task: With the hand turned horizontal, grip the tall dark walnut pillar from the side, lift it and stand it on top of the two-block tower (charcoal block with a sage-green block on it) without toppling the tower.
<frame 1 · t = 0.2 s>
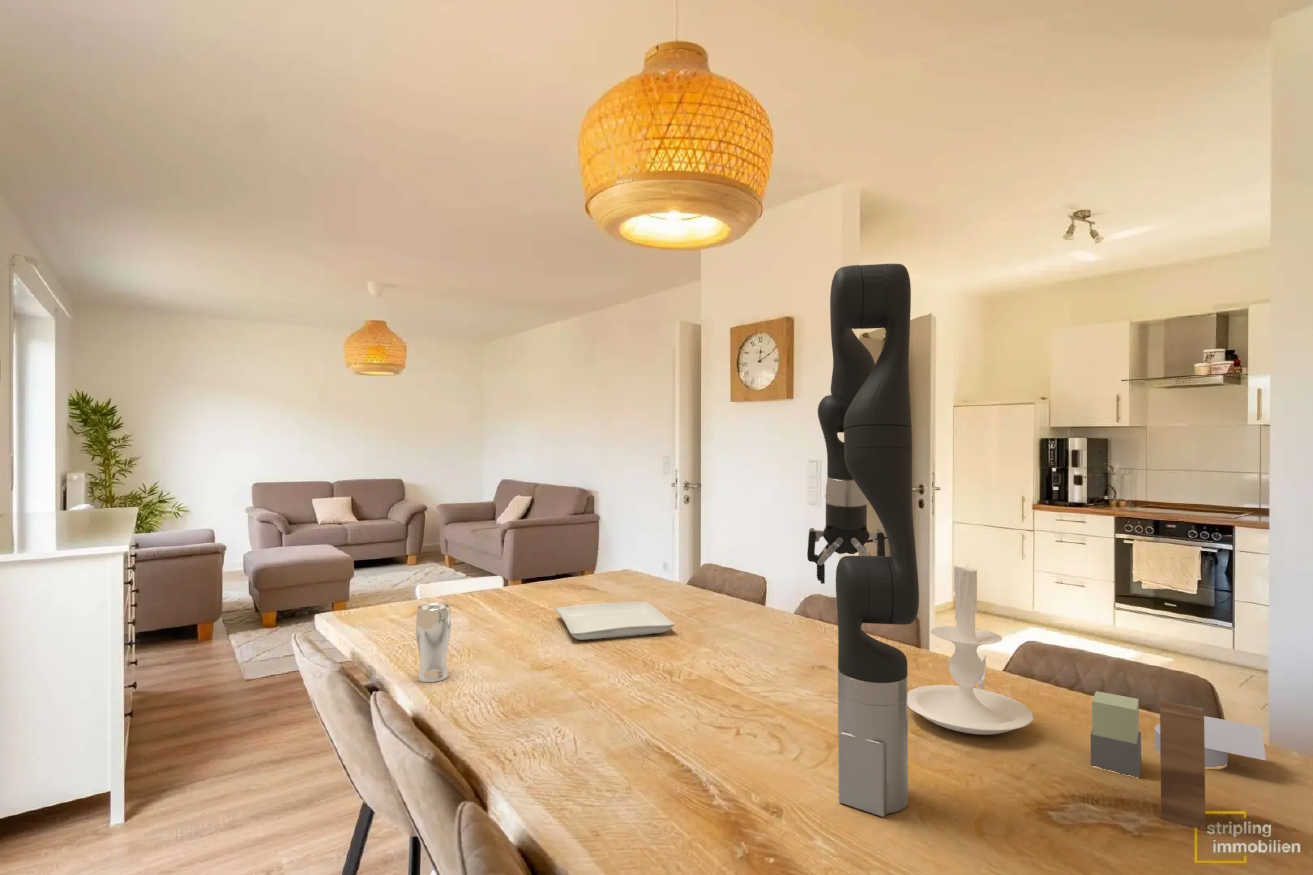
hand: (845, 583, 129), 22 cm above the table, tool pointing down, fingers open, 8 cm apart
tower base: (1116, 765, 103), on the table, touching tower top
beer glass: (433, 678, 142), on the table
tower top: (1115, 732, 103), point 5 cm above the table, touching tower base
walnut pillar: (1182, 816, 89), on the table
candlestick: (969, 720, 121), on the table
wedge on round base: (1206, 761, 105), on the table
square plate: (612, 628, 183), on the table
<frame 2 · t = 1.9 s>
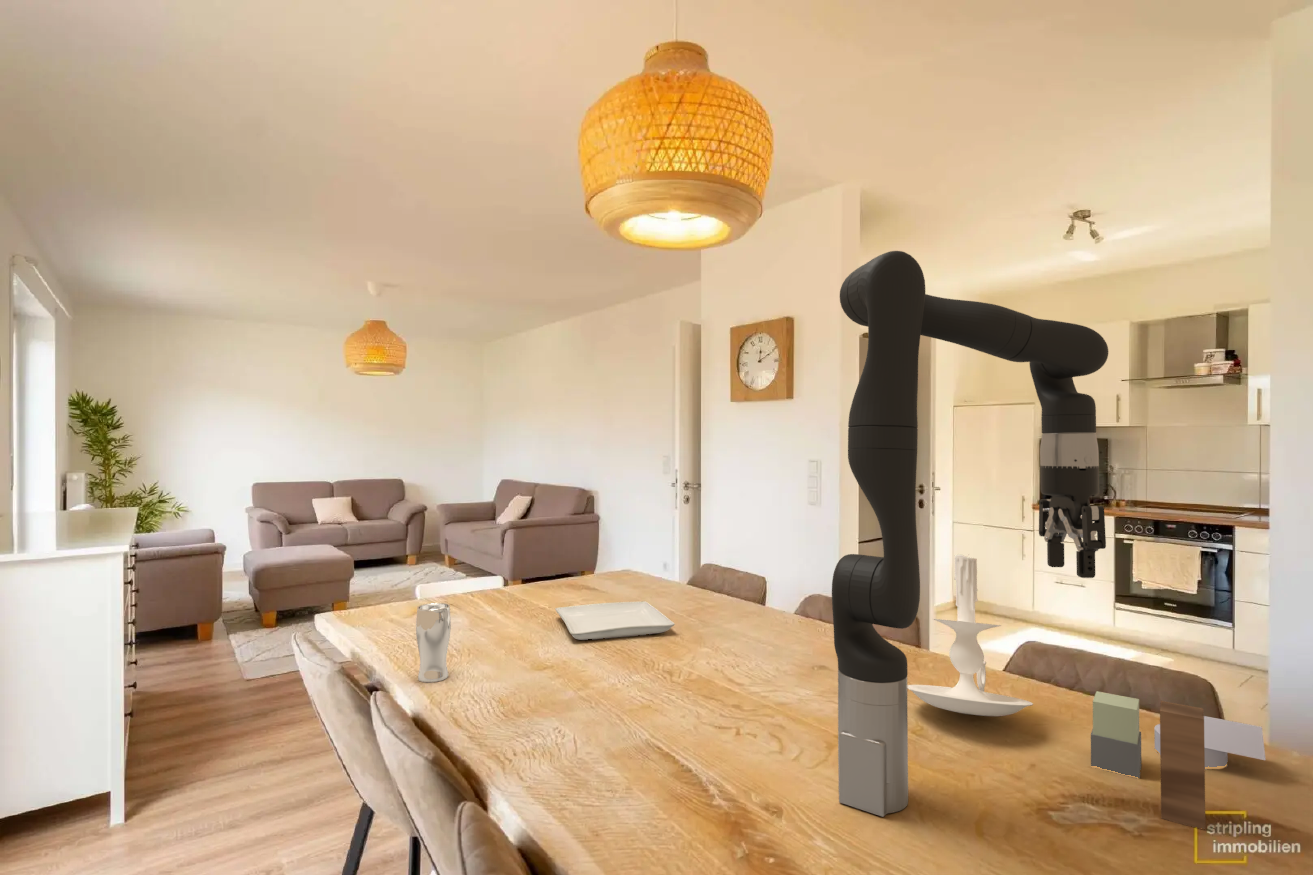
hand: (1070, 571, 101), 30 cm above the table, tool pointing down, fingers open, 8 cm apart
candlestick: (969, 713, 121), point 1 cm above the table
everything else where it was.
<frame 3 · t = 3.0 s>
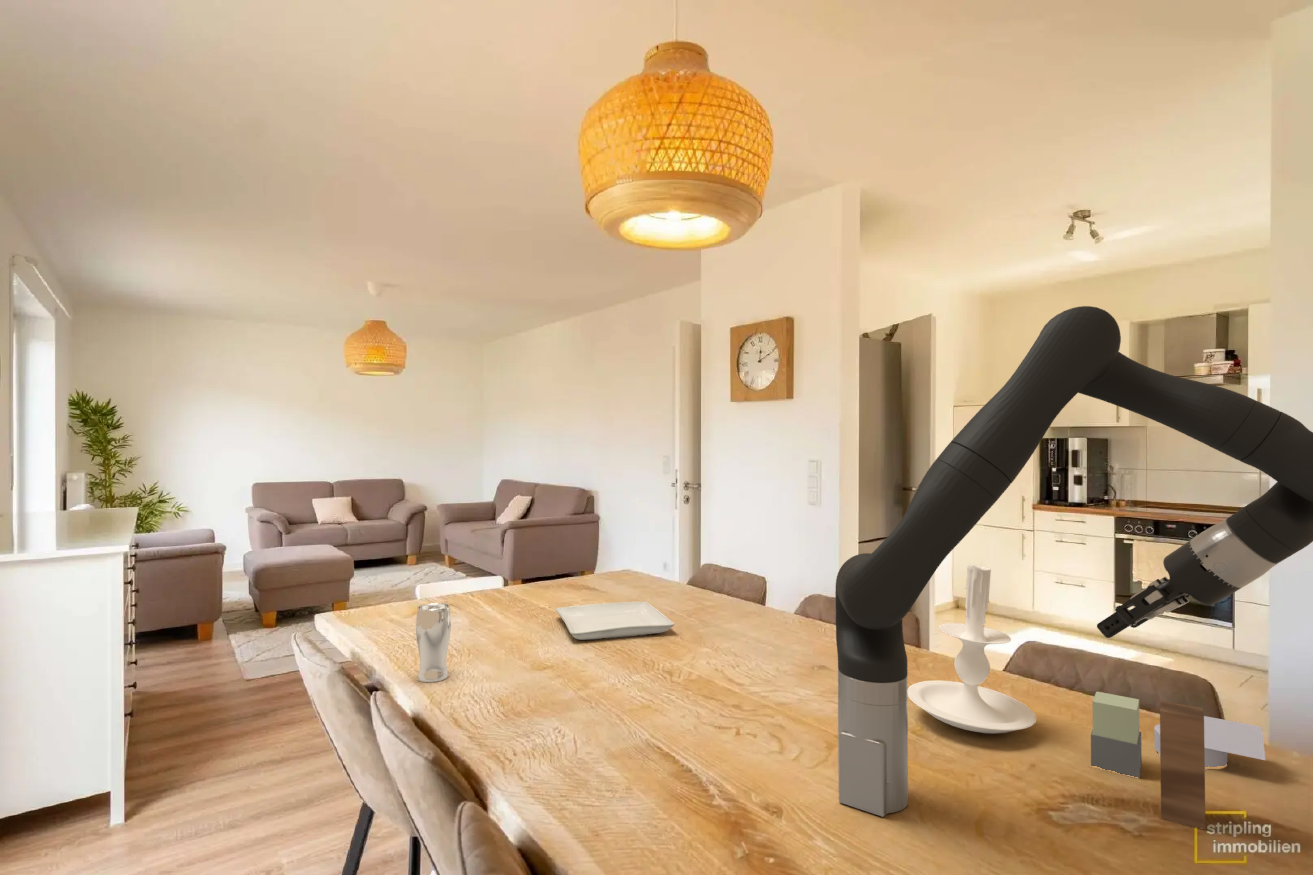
hand: (1115, 626, 97), 23 cm above the table, tool tilted 45°, fingers open, 8 cm apart
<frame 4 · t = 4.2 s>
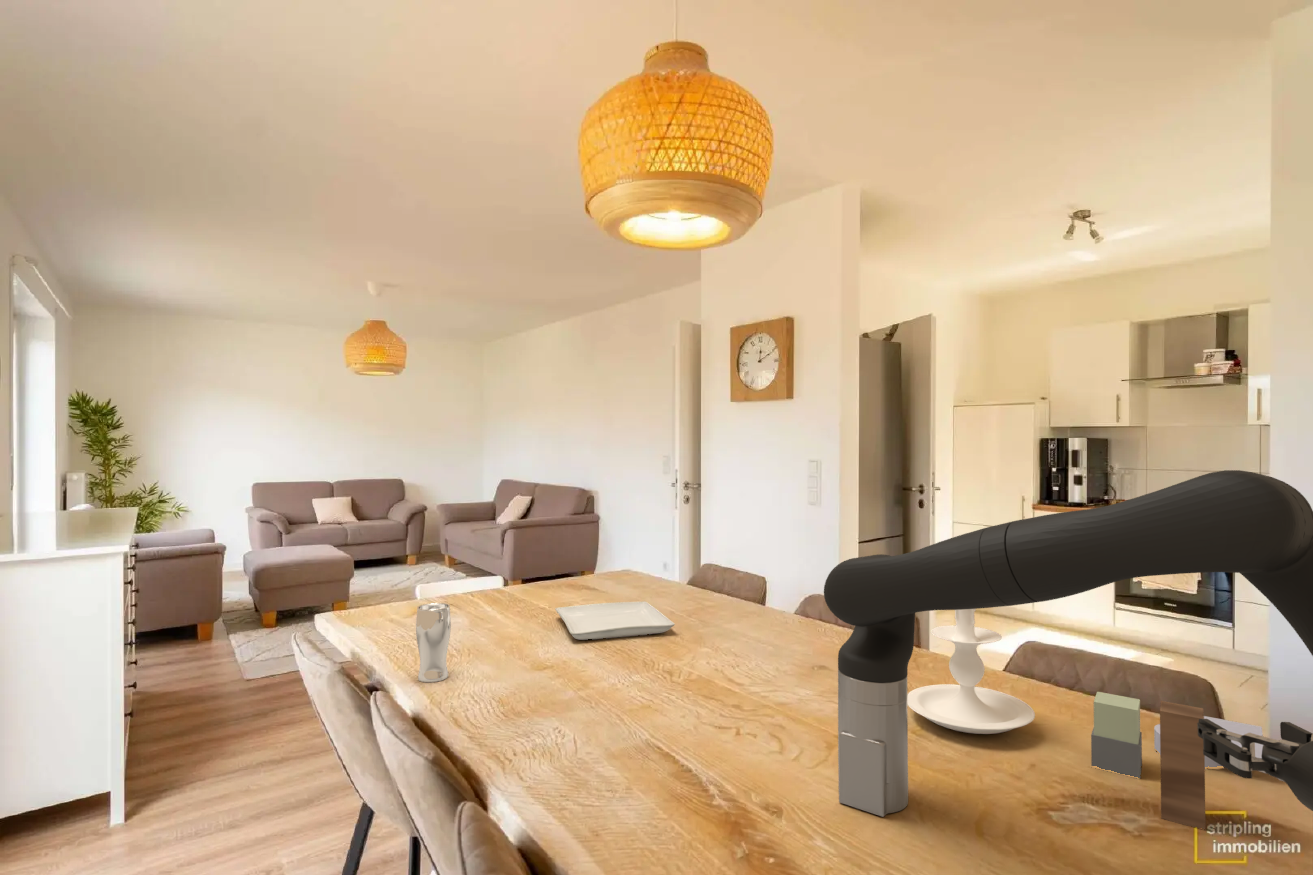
hand: (1242, 728, 78), 16 cm above the table, tool horizontal, fingers open, 8 cm apart
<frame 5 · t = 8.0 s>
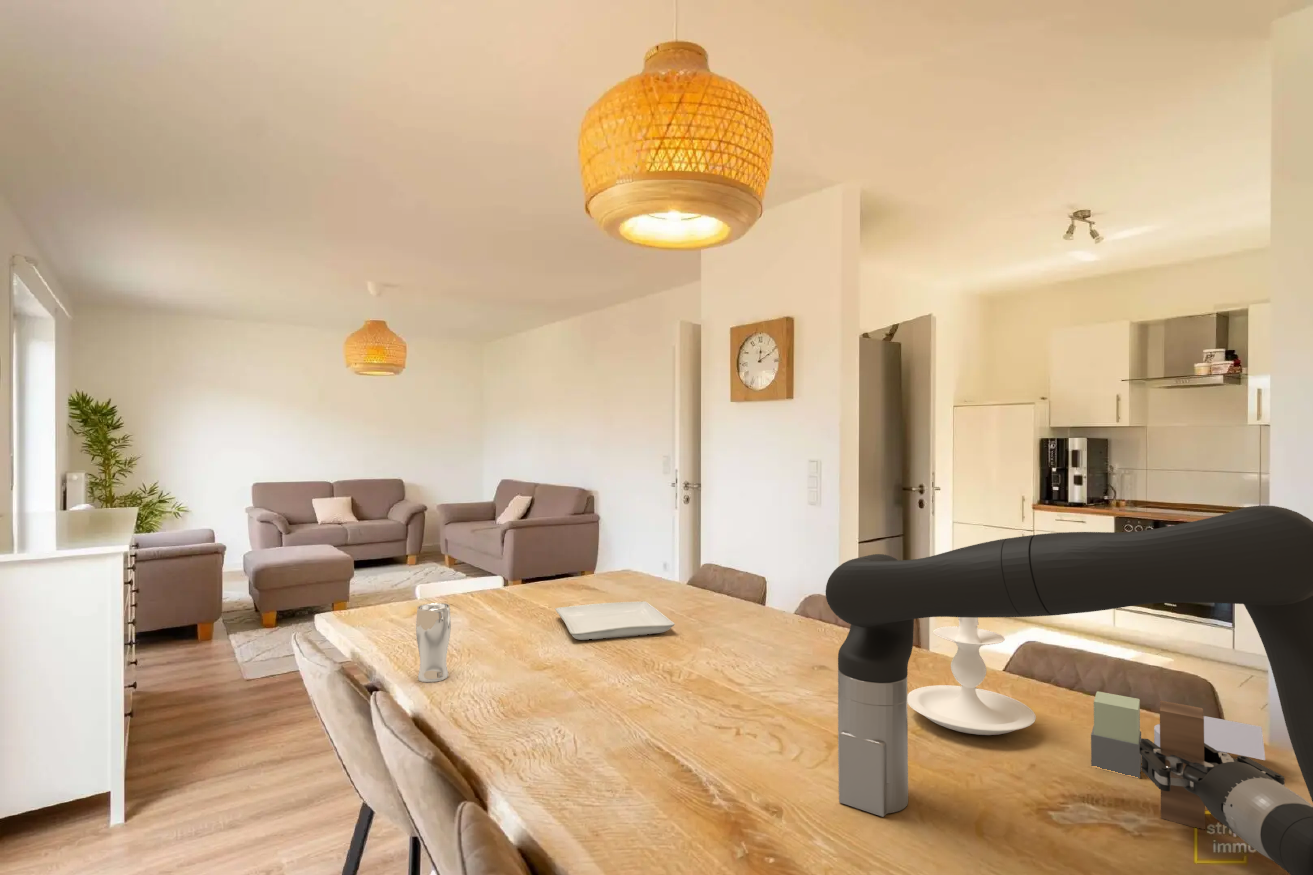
hand: (1170, 747, 91), 8 cm above the table, tool horizontal, fingers closed on walnut pillar, 6 cm apart
walnut pillar: (1182, 816, 89), on the table, touching gripper
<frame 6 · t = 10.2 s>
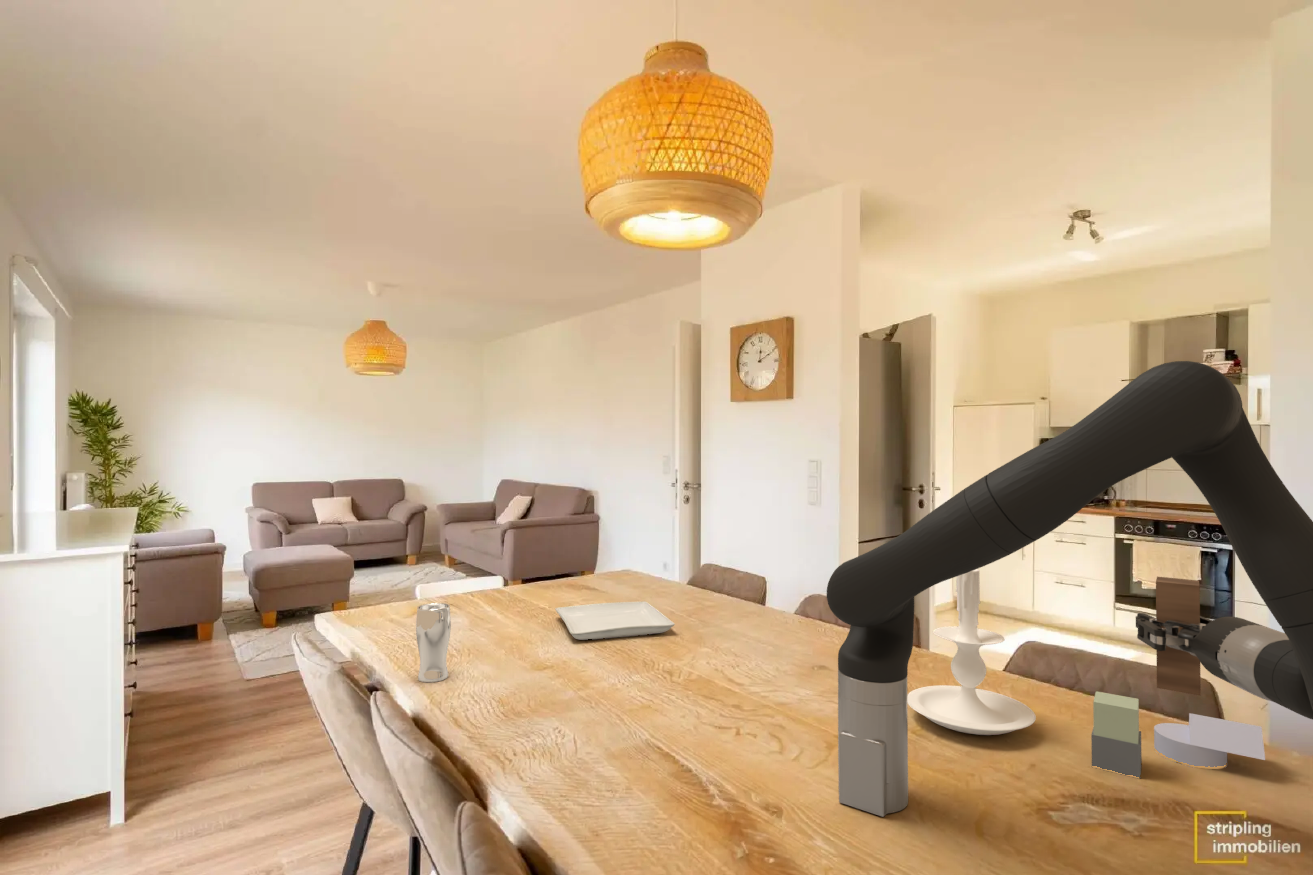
hand: (1166, 621, 92), 25 cm above the table, tool horizontal, fingers closed on walnut pillar, 6 cm apart
walnut pillar: (1178, 686, 89), point 17 cm above the table, touching gripper
when the fingers open (19 cm above the table, at t = 12.9 s): walnut pillar drops 1 cm, resting on tower top.
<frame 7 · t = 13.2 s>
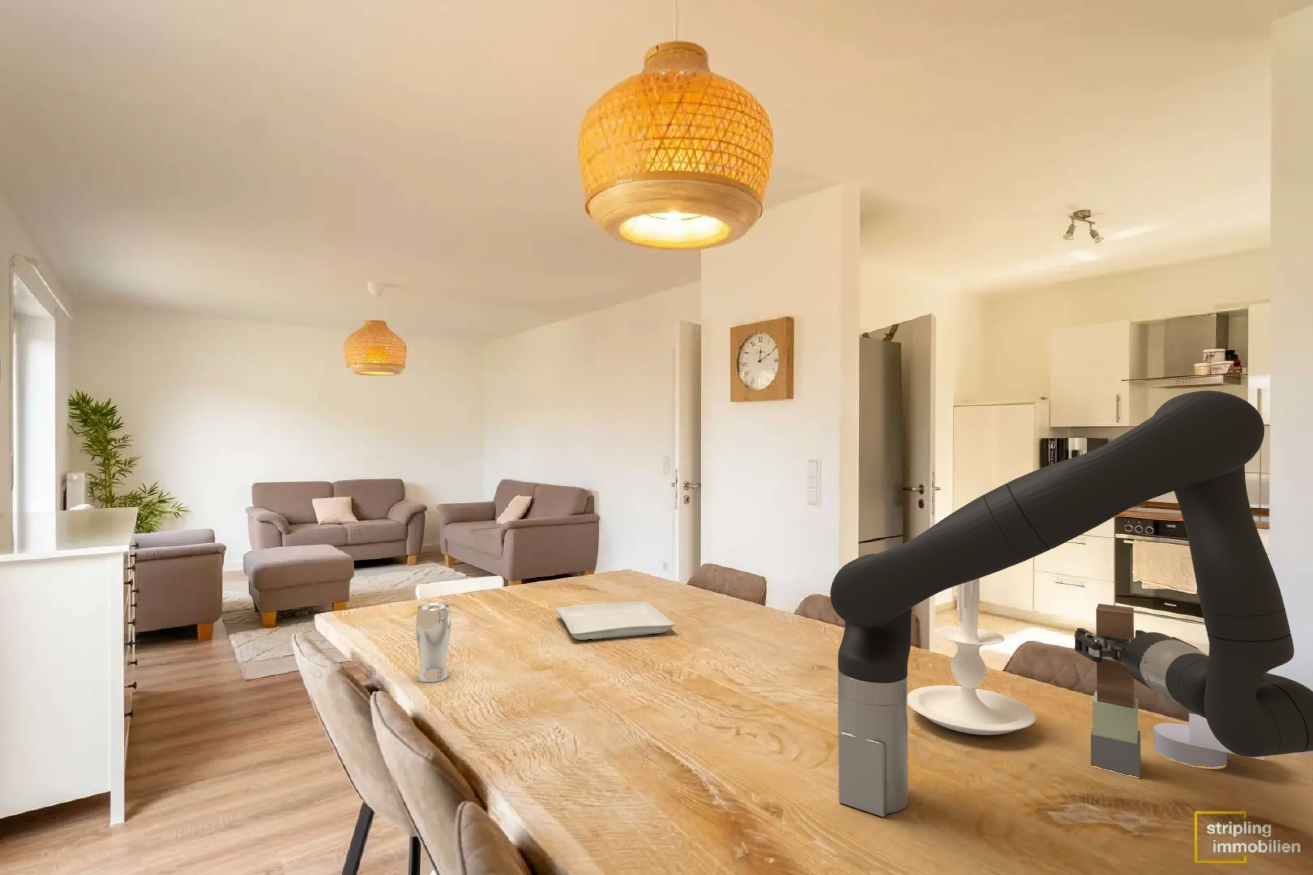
hand: (1108, 635, 105), 19 cm above the table, tool horizontal, fingers open, 8 cm apart
tower top: (1115, 732, 103), point 5 cm above the table, touching tower base, walnut pillar
walnut pillar: (1115, 700, 103), point 10 cm above the table, touching tower top
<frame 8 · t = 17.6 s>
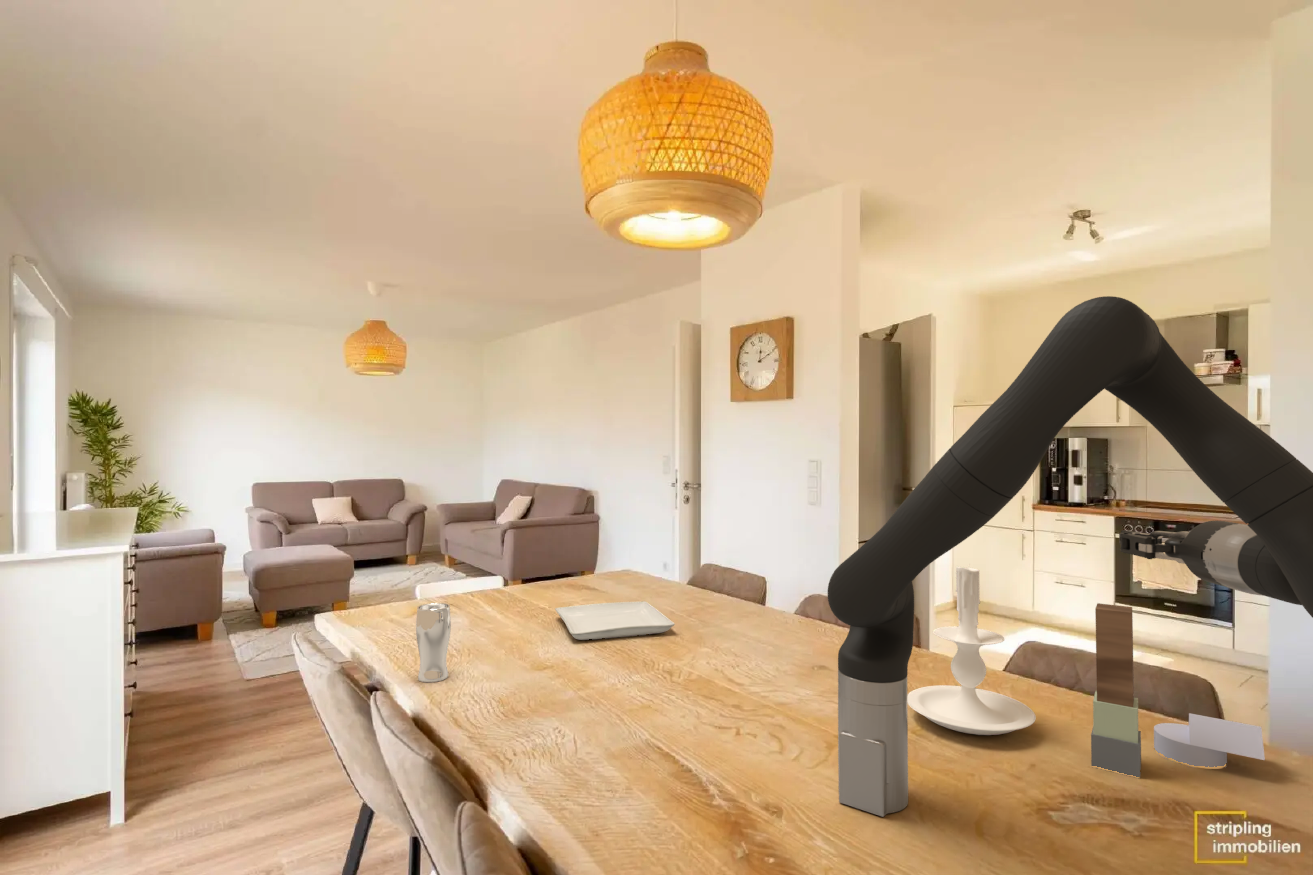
hand: (1157, 538, 93), 36 cm above the table, tool horizontal, fingers open, 8 cm apart
at the end: walnut pillar 0.0 cm off-centre on the tower base, point 10.0 cm above the tower base's base; walnut pillar tilted 0°; tower top 0.1 cm off-centre on the tower base, point 5.0 cm above the tower base's base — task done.
